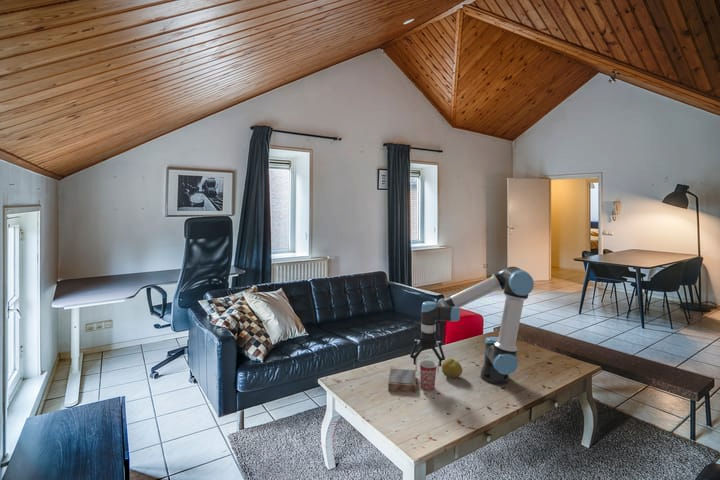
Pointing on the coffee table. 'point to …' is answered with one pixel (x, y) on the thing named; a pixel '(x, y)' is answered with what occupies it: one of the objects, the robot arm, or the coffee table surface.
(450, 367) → the fruit
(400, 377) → the stand
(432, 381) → the mug
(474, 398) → the coffee table surface
